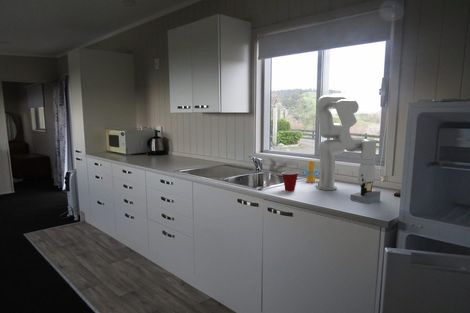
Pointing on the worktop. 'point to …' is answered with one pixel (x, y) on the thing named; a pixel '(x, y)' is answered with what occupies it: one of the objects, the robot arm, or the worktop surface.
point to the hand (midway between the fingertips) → (366, 193)
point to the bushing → (368, 187)
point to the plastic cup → (290, 180)
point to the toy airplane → (311, 172)
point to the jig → (366, 197)
